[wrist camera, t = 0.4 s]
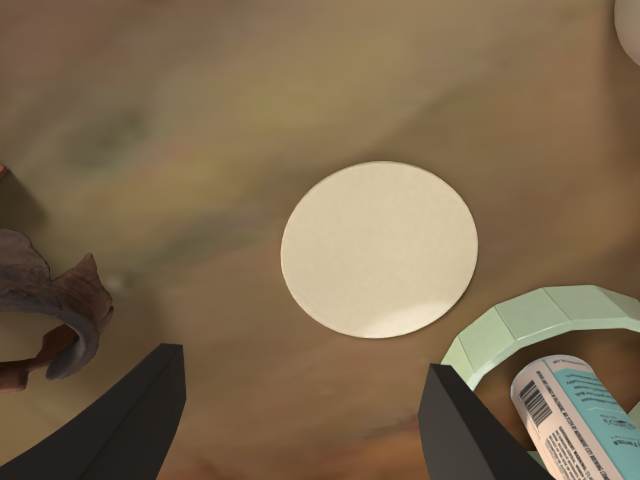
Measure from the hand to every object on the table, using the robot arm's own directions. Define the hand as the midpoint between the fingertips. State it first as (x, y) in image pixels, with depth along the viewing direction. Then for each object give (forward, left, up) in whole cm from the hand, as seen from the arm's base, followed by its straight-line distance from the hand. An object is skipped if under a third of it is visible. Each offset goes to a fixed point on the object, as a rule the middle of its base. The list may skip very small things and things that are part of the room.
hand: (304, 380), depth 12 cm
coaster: (-1, -3, -10) cm, 11 cm away
